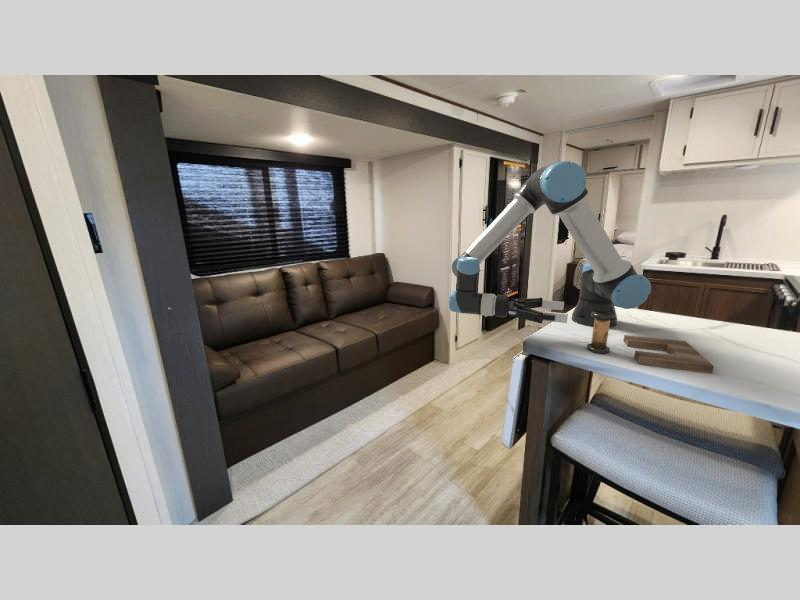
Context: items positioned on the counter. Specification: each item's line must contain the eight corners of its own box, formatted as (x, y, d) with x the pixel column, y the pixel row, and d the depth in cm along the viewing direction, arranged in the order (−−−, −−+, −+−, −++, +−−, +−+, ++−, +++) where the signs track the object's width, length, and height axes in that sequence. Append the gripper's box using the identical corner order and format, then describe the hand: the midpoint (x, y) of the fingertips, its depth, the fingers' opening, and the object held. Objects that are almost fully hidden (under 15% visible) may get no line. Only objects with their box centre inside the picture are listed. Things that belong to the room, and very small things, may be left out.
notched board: (623, 340, 106) (624, 334, 105) (683, 346, 100) (685, 340, 99) (639, 364, 90) (640, 357, 89) (712, 373, 84) (713, 366, 83)
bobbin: (585, 345, 103) (590, 309, 100) (607, 347, 101) (612, 311, 98) (588, 352, 98) (593, 315, 95) (611, 355, 96) (617, 317, 93)
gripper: (498, 306, 120) (561, 312, 112) (490, 327, 98) (567, 337, 90) (499, 286, 118) (563, 291, 110) (491, 304, 96) (570, 311, 88)
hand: (565, 311), depth 100 cm, fingers open, 13 cm apart
